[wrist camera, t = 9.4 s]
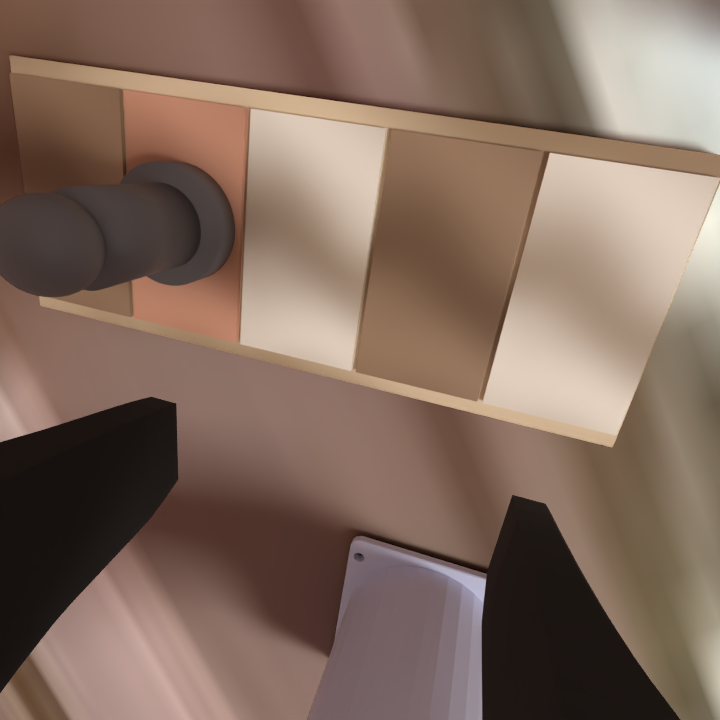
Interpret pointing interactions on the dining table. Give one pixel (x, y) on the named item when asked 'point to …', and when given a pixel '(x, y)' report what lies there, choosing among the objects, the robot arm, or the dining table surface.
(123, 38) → the dining table surface
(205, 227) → the pawn
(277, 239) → the board
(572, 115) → the dining table surface
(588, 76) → the dining table surface
